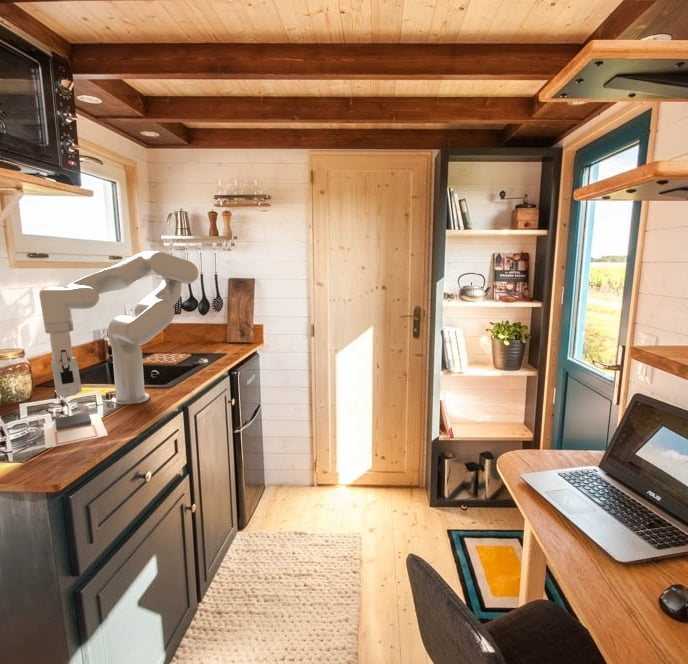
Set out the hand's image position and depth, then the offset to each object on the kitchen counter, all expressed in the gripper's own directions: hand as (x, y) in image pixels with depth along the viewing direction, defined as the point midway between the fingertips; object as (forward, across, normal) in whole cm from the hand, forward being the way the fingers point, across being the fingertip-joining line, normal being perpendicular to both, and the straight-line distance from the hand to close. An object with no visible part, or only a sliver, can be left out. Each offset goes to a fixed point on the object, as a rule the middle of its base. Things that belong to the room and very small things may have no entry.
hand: (67, 379), depth 135 cm
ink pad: (+12, +10, 0) cm, 15 cm away
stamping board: (+12, +15, 0) cm, 20 cm away
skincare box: (+5, 0, 0) cm, 5 cm away
